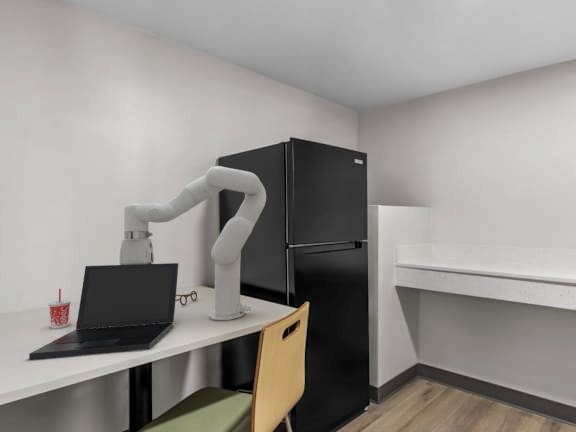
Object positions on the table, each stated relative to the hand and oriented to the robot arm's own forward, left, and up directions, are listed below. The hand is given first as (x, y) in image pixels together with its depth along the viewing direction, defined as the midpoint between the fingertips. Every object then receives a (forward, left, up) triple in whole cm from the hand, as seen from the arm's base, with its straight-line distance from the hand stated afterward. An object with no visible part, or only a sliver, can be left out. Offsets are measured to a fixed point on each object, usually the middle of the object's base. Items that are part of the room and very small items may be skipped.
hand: (136, 283), depth 131 cm
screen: (0, +6, -3) cm, 7 cm away
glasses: (-5, -30, -16) cm, 34 cm away
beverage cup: (+26, -3, -16) cm, 31 cm away
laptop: (0, +20, -15) cm, 25 cm away
